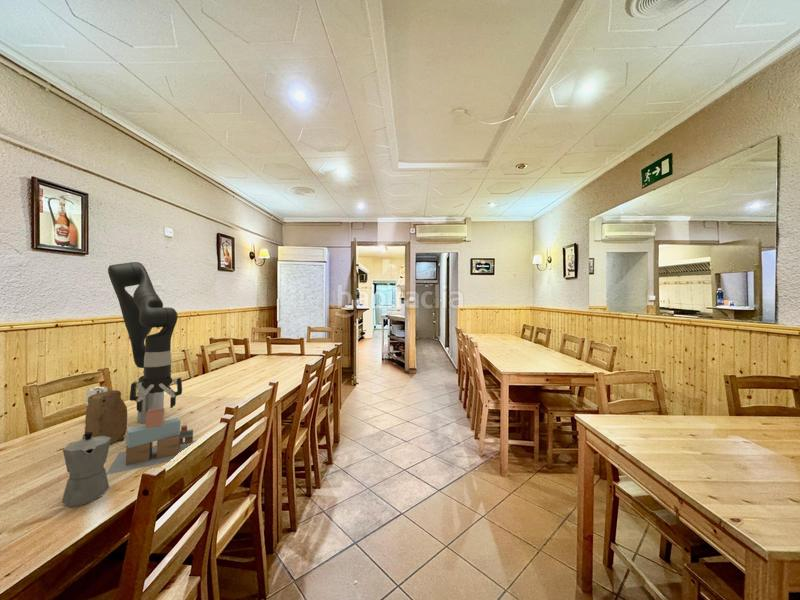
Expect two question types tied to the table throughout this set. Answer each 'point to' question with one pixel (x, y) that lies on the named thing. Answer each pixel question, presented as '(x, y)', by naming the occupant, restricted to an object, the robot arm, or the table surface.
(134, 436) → the lintel
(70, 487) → the coffeepot
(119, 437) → the block
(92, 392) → the beer glass
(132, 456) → the base cube
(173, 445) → the base cube
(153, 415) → the terracotta cube
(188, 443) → the model
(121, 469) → the grey flat sheet
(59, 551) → the table surface
